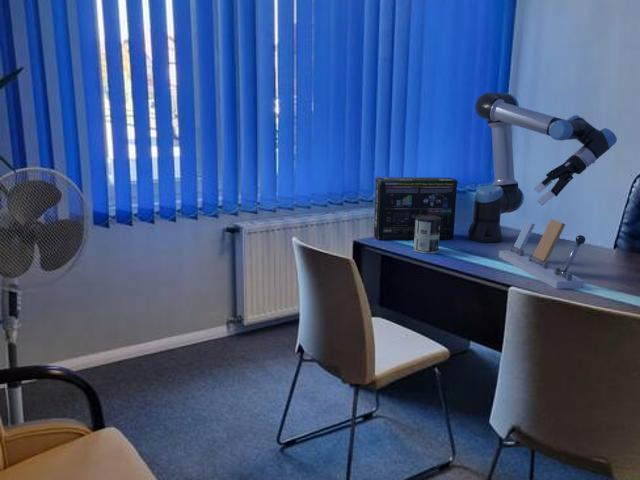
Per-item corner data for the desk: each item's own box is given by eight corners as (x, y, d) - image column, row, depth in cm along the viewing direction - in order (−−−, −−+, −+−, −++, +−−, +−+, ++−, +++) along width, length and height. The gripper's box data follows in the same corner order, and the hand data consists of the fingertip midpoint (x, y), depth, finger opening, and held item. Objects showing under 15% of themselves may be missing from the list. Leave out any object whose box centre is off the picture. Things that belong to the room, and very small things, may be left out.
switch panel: (521, 255, 224) (522, 244, 223) (583, 287, 187) (585, 274, 185) (498, 256, 222) (499, 245, 221) (556, 288, 185) (558, 275, 184)
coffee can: (436, 247, 234) (438, 214, 230) (440, 254, 224) (443, 220, 220) (411, 246, 234) (413, 214, 230) (415, 253, 224) (417, 219, 220)
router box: (446, 234, 257) (451, 177, 251) (454, 240, 247) (460, 180, 240) (371, 234, 254) (373, 176, 247) (375, 240, 243) (378, 179, 236)
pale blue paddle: (514, 251, 220) (528, 222, 218) (521, 254, 216) (536, 225, 214) (510, 250, 220) (525, 220, 218) (517, 253, 215) (532, 223, 213)
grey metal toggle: (560, 275, 192) (581, 235, 190) (569, 279, 187) (590, 238, 185) (554, 272, 191) (574, 232, 189) (562, 276, 186) (583, 235, 184)
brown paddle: (533, 261, 207) (554, 220, 205) (545, 267, 200) (566, 224, 197) (529, 259, 207) (550, 218, 204) (541, 265, 200) (562, 223, 197)
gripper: (586, 153, 207) (542, 191, 210) (587, 179, 229) (547, 214, 231) (571, 141, 211) (528, 179, 214) (574, 168, 232) (534, 202, 235)
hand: (537, 197), depth 223 cm, fingers open, 13 cm apart
